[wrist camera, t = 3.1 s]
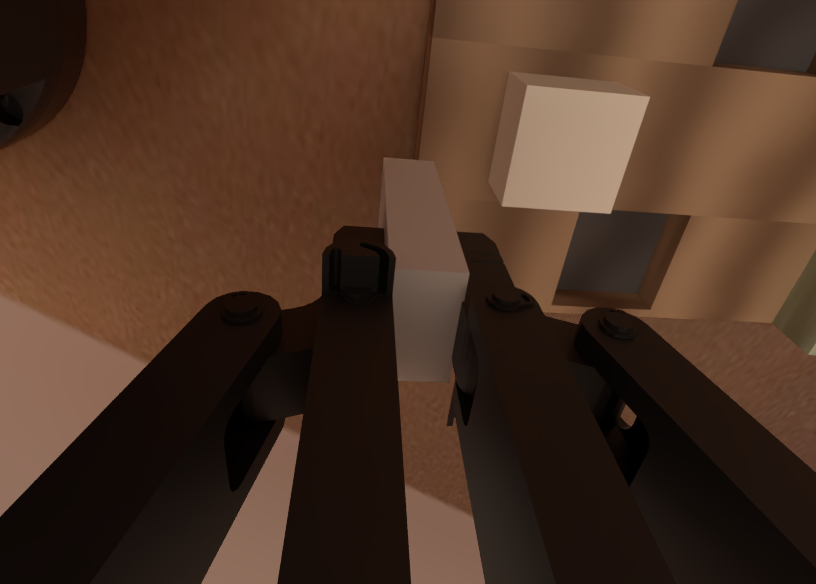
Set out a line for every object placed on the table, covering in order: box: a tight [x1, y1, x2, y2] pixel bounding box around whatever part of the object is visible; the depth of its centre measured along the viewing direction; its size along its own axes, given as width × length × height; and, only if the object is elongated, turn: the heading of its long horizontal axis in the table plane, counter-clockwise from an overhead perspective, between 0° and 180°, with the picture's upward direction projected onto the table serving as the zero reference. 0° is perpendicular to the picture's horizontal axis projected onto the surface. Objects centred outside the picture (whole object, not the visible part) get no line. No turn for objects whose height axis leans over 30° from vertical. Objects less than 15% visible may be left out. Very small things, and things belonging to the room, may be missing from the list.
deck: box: [414, 0, 816, 355], centre depth 24 cm, size 24×20×5 cm
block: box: [488, 71, 650, 214], centre depth 22 cm, size 5×5×3 cm
